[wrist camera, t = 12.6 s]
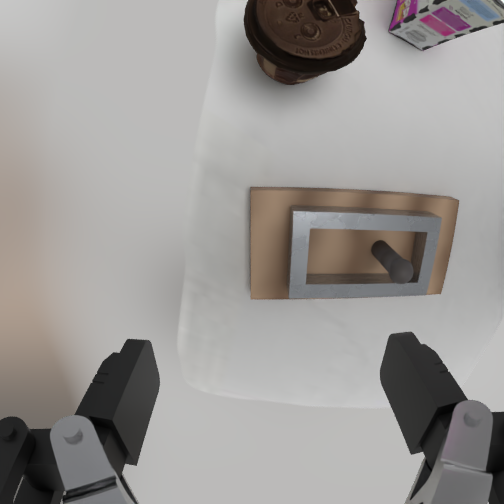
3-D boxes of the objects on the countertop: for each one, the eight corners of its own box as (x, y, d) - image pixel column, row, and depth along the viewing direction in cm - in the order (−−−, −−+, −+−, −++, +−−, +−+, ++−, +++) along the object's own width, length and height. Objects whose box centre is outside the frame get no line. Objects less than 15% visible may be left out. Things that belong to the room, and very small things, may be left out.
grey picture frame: (430, 211, 31) (442, 218, 29) (416, 284, 34) (426, 295, 32) (290, 205, 31) (293, 211, 29) (286, 286, 35) (288, 298, 32)
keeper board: (450, 196, 32) (496, 217, 24) (433, 286, 37) (469, 323, 28) (250, 186, 33) (249, 206, 24) (251, 290, 37) (249, 337, 28)
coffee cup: (338, 35, 27) (383, -11, 14) (322, 104, 29) (362, 87, 17) (257, 14, 26) (259, -47, 14) (238, 82, 29) (228, 50, 17)
